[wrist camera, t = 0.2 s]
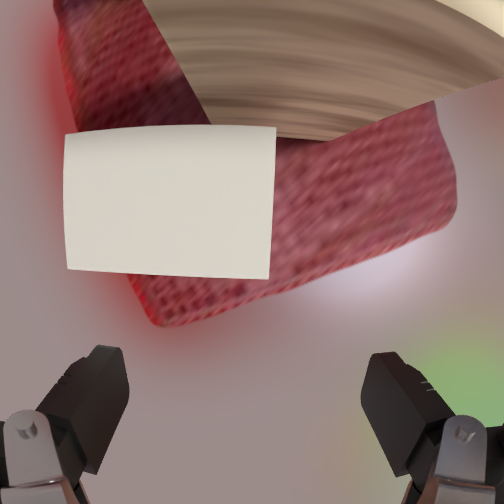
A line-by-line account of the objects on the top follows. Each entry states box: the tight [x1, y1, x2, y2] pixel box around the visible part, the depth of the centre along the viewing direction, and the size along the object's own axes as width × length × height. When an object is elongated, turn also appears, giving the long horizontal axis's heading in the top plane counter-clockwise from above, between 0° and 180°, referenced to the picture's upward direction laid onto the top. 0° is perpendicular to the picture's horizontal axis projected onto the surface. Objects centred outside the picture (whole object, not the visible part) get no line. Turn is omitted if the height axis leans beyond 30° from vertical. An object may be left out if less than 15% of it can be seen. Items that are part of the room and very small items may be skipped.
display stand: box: [142, 0, 504, 141], centre depth 19 cm, size 10×14×32 cm
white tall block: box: [63, 125, 277, 279], centre depth 26 cm, size 8×12×22 cm, turn 88°
